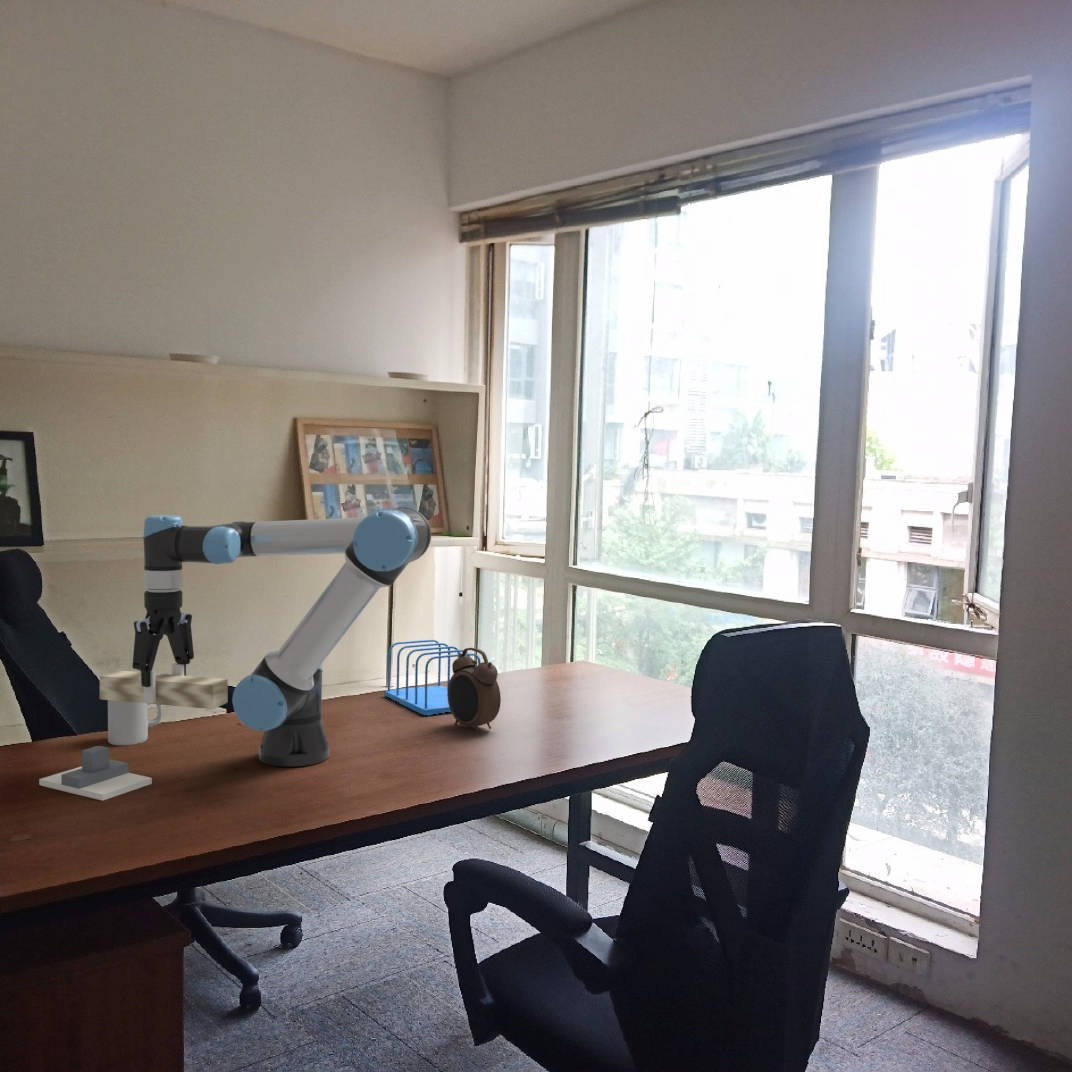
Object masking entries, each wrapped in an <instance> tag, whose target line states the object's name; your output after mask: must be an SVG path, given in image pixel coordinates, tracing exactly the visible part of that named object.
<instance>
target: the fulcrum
mask: <svg viewBox="0 0 1072 1072" xmlns="http://www.w3.org/2000/svg"><path fill="white" fill-rule="evenodd" d="M129 765H130V764H129V763H128V762H125V761H120V760H117V759H113V758H111V759H110V747H107V746H102V745H96V746H92V747H89V748H85V749H81V766H79V767H75V768H73V769H69V770H65V771H61V772H58V773H54V774H52V775H49V776H45V777H42V778H39V780H38V781H39V783H38V785H39V786H42V787H45V788H49V789H54V790H58V791H62V792H66V793H70V794H74V795H79V796H82V797H86V798H90V799H94V800H99V801H106V800H108V799H111V798H114V797H118V796H120V795H123V794H126V793H129V792H131V791H135V790H138V789H141V788H144V787H146V786H147V787H148V786H149V785H152V784H153V783H152V782H153V778H152V777H149V776H146V775H141V774H136V773H132V772H130V770H129V769H130V767H129Z"/></svg>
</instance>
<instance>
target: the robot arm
mask: <svg viewBox="0 0 1072 1072" xmlns="http://www.w3.org/2000/svg"><path fill="white" fill-rule="evenodd" d="M143 525H144V526H143V536H142V539H143V557H144V558H143V561H144V565H143V587H144V588H145V591H144V592H143V593H144V595H143V597H144V599H143V600H144V601H143V604H144V608H145V610H146V614H145V618H144V619H142V620H140V621H139V620H135V621H134V622H133V627H134V632H135V633H134V645H133V653H132V654H133V655H132V665H131V666H132V667H131V668H132V669H133V670H137V671H139V672H141V685H142V687H143V696H144V701H145V702H150V703H155V702H156V673H157V672H156V670H153V668H154V664H155V661H156V658H157V654H158V649H159V646H160V643H161V640H163V638H164V636H166V637H167V640H168V642H169V646H170V649H171V652H172V655H173V658H174V661H175V663H171V666H172V667H171V668H172V669H171V673H172V674H171V675H182V676H187V665H189V664H190V663H191V660H193V659H194V658H195V654H194V653H195V652H194V646H193V634H192V633H193V632H192V625H191V624H192V619H193V614H190V613H183V612H181V611H182V610H181V608H182V607H183V591H182V588H183V563H201V564H202V563H203V564H214V565H221V564H233V563H234V562H235V561H236V560H237V558H250V557H271V556H272V557H274V556H302V555H303V556H305V555H309V556H310V555H311V556H312V555H336V554H338V555H339V554H342V555H343V554H344V559H345V563H344V564H343V565H342V567H341V568H340V569H339V571H338V572H337V573H336V575H335V576H334V577H333V578H332V580H331V581H330V582H329V584H328V585H327V586H326V587H325V589H324V590H323V592H322V593H321V594H320V595H319V597H318V598H317V600H315V602H314V604H313V605H312V606H311V607H310V609H309V610H308V611H307V613H305V614H306V615H305V616H304V617H302V619H301V621H300V622H299V623H298V625H296V627H295V629H293V631H292V633H290V635H289V637H288V638H287V639H286V640H285V642H284V643H283V644H282V645H281V647H280V648H279V650H274V651H273V650H272V651H269V652H267V653H266V654H265V656H264V657H263V658H262V660H261V661H260V662H259V663H258V664H257V666H256V668H255V669H254V670H253V672H251V674H249V675H247V676H245V677H244V678H243V679H241V680H240V681H239V682H238V683H237V685H236V686H235V688H234V690H233V692H232V698H231V699H232V706H233V711H234V714H235V716H236V717H237V719H238V720H239V722H241V723H242V724H243V725H244V726H246V727H247V728H249V729H251V730H254V731H258V732H263V735H262V739H261V744H260V745H259V747H258V760H259V761H260V762H261V763H263V764H266V765H268V766H275V767H283V768H285V767H290V768H291V767H305V766H310V765H315V764H319V763H321V762H324V761H325V760H328V758H330V744H329V742H328V740H327V736H326V734H325V728H324V726H323V723H322V722H323V721H322V708H323V707H322V705H323V703H322V700H323V699H322V698H323V697H322V696H323V695H322V694H323V693H322V689H323V688H322V687H323V671H324V669H323V668H322V664H323V663H324V661H325V660H326V659H327V657H328V656H329V655H330V654H331V652H332V651H333V650H334V648H335V647H336V646H337V644H338V643H339V642H340V640H342V638H343V637H344V636H345V634H346V633H347V631H349V629H350V627H351V626H352V625H353V623H355V621H356V620H357V619H358V617H359V616H360V615H361V613H362V612H363V611H364V609H365V608H366V607H367V606H368V604H369V603H370V602H371V601H372V599H373V598H374V596H375V595H376V594H377V592H378V591H379V590H380V589H381V588H386V587H387V588H388V587H391V586H393V584H394V583H395V581H396V580H397V579H398V578H399V576H400V575H401V574H402V573H403V572H404V570H405V569H406V568H407V566H409V564H410V563H413V562H415V561H416V560H418V559H420V558H421V557H423V555H425V553H426V552H427V550H428V549H429V547H430V545H431V541H432V530H431V526H430V523H429V521H428V519H427V518H426V517H425V516H424V515H423V514H422V513H421V512H420V511H418V510H416V509H415V508H412V507H405V506H404V507H403V506H400V507H399V506H398V507H396V508H384V509H379V510H376V511H373V512H372V511H371V512H370V513H369V514H368V515H367V516H365V517H347V518H345V517H344V518H343V517H342V518H322V519H321V518H319V519H317V518H316V519H296V520H295V519H293V520H272V521H271V520H270V521H269V520H268V521H267V520H265V521H256V522H255V521H249V522H248V521H234V522H231V523H225V524H224V523H223V524H216V525H210V526H209V525H207V526H202V525H201V526H198V525H197V526H193V525H192V526H191V525H190V526H189V525H184V524H183V519H182V517H181V516H179V515H170V514H169V515H168V514H161V515H159V514H158V515H150V516H149V515H148V516H147V517H146V518H145V519H144V523H143Z"/></svg>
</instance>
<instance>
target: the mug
mask: <svg viewBox="0 0 1072 1072" xmlns="http://www.w3.org/2000/svg"><path fill="white" fill-rule="evenodd" d="M150 705H151V704H147V703H135V702H124V701H113V700H107V742H108V743H109V744H111V745H113V746H133V745H138V743H139V744H142V743H144V742H147V740H148V738H149V737H148V736H149V734H148V733H149V730H148V729H149V728H151V727H155V726H157V725H159V724H160V723H161V720H162V717H163V705H158V704H155V705H156V707H157V715H156V717H155V718H153V719H148V707H149V706H150Z"/></svg>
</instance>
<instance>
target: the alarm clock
mask: <svg viewBox="0 0 1072 1072" xmlns="http://www.w3.org/2000/svg"><path fill="white" fill-rule="evenodd" d="M462 650H463V652H460V653H459V658H458V657H456V659H455V660H454V661H453V662H452V664H451V665H452V669H451V670H452V673H453V674H452V675H451V676H450V681H449V684H448V690H447V697H448V704H449V707H450V710H451V712H450V713H451V715H452V716H453V718H454V719H455V723H454V726H455V727H456V725H457V726H458V723H459V724H460V725H461V726H463V727H467V728H469V727H474V728H475V730H476V734H477V733H478V734H480V731H479V727H480V726H483V725H487V728H488V729H489V730H492V726H491V725H490V723H491V722H494V720H496V718H497V716H498V714H499V711H500V708H501V701H502V699H501V691H500V687H499V683H498V681H497V680H498V675H499V671H498V669H497V668H496V666H495V665H494V664H493V663H492V662H491V661H489V660H488V657H487V655H486V653H485V652H484V651H483V650H481V649H479V648H475V647H467V648H464V649H462ZM468 651H473V652H476V653H478V654H480V655H481V656H482V660H483V662H482V661H481V662H480V664H478V660H477V661H476V660H474V659H473V657H471V656H470V657H469V656H465V654H466V652H468Z"/></svg>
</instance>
